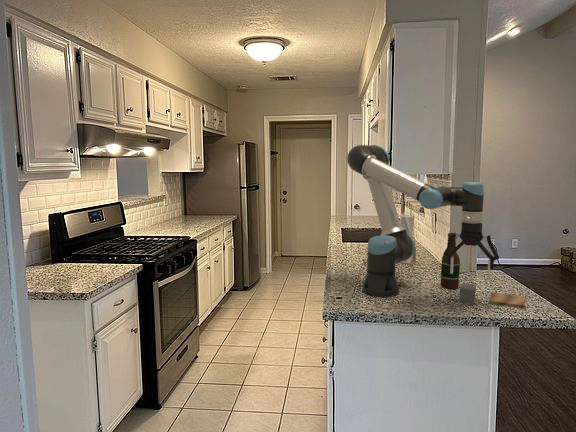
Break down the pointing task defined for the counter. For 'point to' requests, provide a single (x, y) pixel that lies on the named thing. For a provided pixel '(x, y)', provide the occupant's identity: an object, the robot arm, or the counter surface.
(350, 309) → the counter surface
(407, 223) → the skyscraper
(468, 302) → the plug
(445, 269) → the beer bottle
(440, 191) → the robot arm
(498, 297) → the walnut board
